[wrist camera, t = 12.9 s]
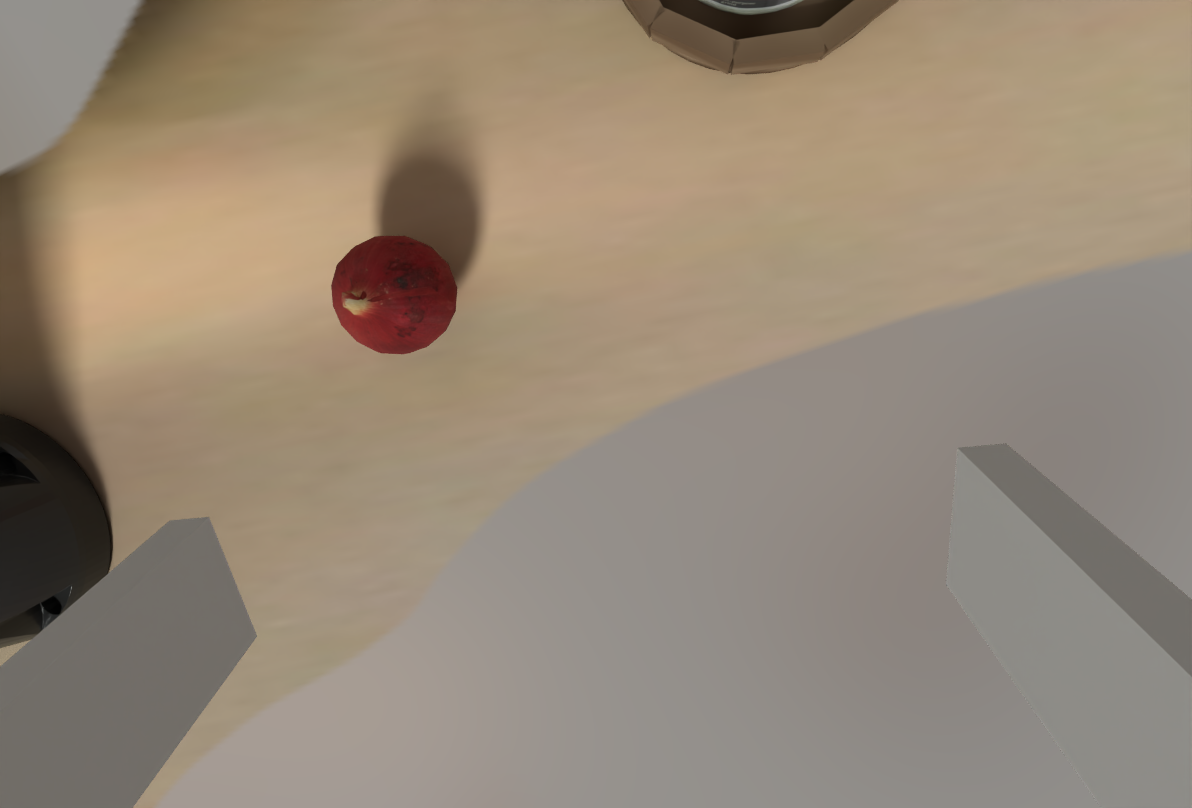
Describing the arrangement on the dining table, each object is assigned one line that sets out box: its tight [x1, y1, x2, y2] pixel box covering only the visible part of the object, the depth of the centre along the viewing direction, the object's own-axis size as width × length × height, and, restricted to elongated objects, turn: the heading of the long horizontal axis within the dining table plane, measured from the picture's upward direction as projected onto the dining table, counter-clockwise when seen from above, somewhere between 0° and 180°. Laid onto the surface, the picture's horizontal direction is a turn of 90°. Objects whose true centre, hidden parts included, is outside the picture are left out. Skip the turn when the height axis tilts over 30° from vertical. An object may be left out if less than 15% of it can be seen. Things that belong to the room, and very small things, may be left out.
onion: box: [331, 236, 457, 354], centre depth 33 cm, size 6×6×8 cm
